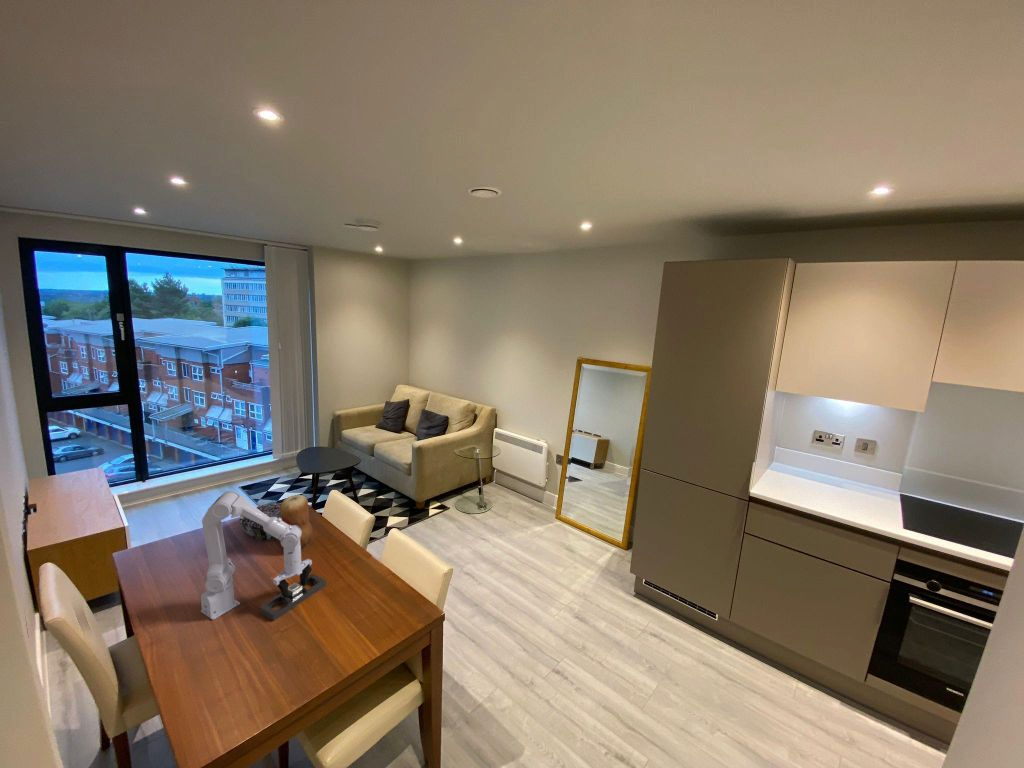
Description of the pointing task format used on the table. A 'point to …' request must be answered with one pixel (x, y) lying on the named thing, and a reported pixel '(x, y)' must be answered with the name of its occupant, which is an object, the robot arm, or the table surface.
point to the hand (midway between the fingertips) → (294, 590)
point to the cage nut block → (294, 590)
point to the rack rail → (289, 603)
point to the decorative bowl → (257, 529)
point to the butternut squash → (297, 516)
